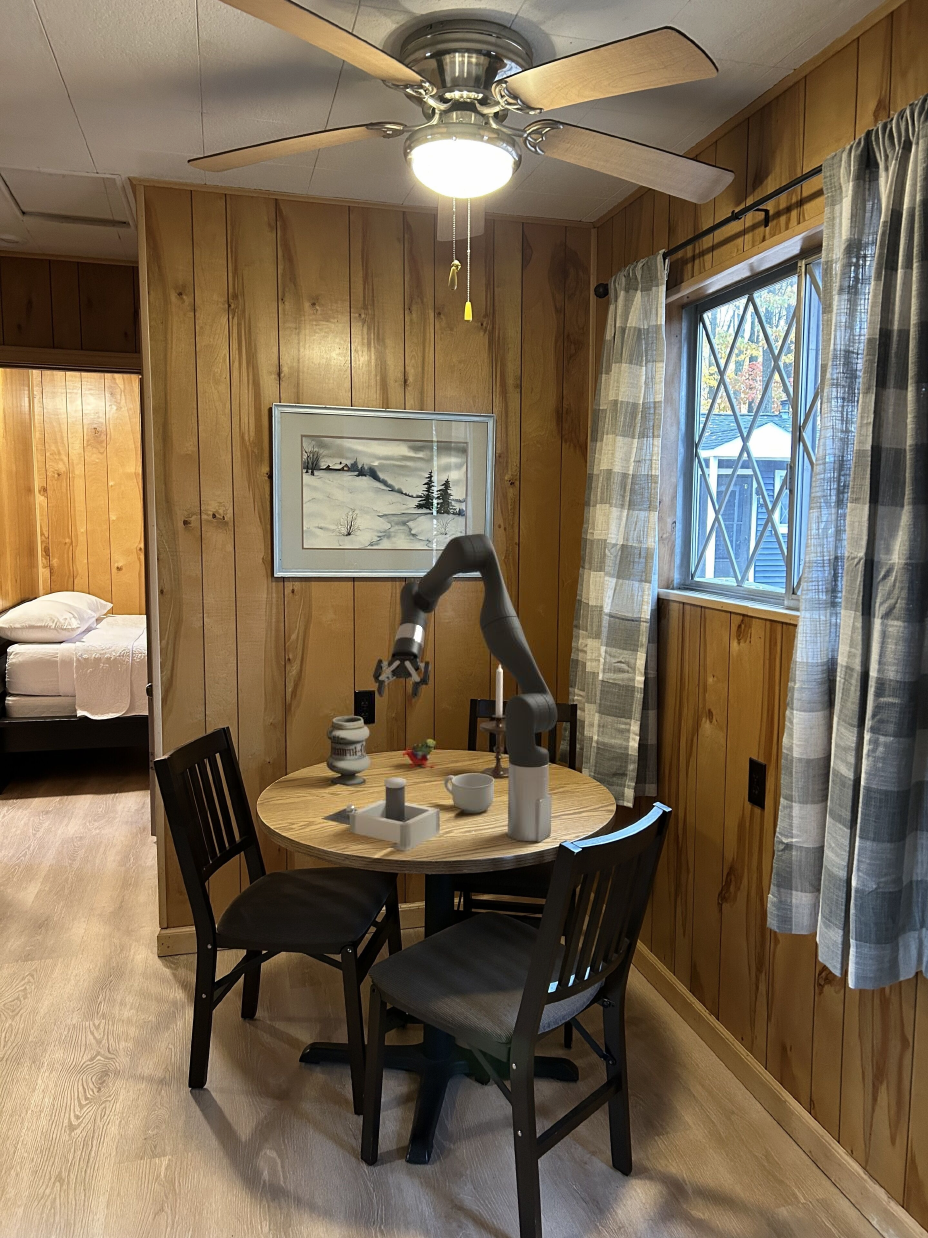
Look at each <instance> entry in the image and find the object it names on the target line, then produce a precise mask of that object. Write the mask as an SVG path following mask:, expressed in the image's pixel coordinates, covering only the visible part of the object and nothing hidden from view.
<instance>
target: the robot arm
mask: <svg viewBox="0 0 928 1238" xmlns="http://www.w3.org/2000/svg"><path fill="white" fill-rule="evenodd" d="M477 572H478V573H479V574H480V577H481V579H482V582H483V586H484V596H483V601H482V605H481V610H480V614H479V621H478V623H479V627H480V631H481V634H482V635H483V639H484V643H485V644H486V646H487V647H486V648H487V649H488V651H489V652H490V654H491V655H492V656H493V657H494V658H495V660H496V661H497V662H498V661H499V662H500V663H501V664H500V665H501V666H502V667H504V669H506V670H507V671H508V673H510V675H511V676H512V678H514V679H515V681H516V683H517V685H518V687H519V689H520V692H521V694H516V695H513V696H511V697H510V698H509V699H508V701H507V702H506V704H505V705H506V706H505V712H504V715H505V717H504V721H505V733H504V734H505V735H504V736H505V748H506V749H505V750H506V751H507V755H508V768H509V777H508V778H507V779H508V784H507V785H508V786H507V787H508V789H507V790H508V791H507V792H508V793H507V794H508V795H507V796H508V797H507V799H508V800H507V835H508V837H509V838H511V839H514V840H516V841H521V842H538V843H539V842H542V841H543V840H545V839H546V838H547V837H549V836H551V834H552V802H553V801H552V800H553V799H552V798H553V797H552V794H550V793H549V775H550V773H549V772H550V771H549V770H550V769H549V768H550V766H549V765H550V763H549V762H550V752H549V751H548V749H546V748H544V747H541V746H538V745H536V736H535V734H537V733H543V732H547V731H549V730H552V729H553V728H554V727H555V726H556V724H557V722H558V721H557V720H558V709H557V706H556V702H555V699H554V698H553V695H552V693H551V691H550V689H549V688H548V686H547V684H546V683H547V682H545V679H544V677H543V676H542V674H541V671H540V670H539V667H538V665H537V663H536V661H535V659H534V655H533V654H532V652H531V651H532V650H531V649H530V646H529V644H528V642H527V638H526V636H525V633H524V630H523V627H522V625H521V622H520V619H519V617H518V615H517V613H516V611H515V608H514V606H513V603H512V600H511V598H510V595H509V592H508V590H507V587H506V584H505V581H504V577H503V574H502V571H501V568H500V562H499V559H498V555H497V553H496V549H495V547H494V545H493V542H492V541H491V539H490V537H489V536H488V535H486V534H485V533H484V534H483V533H474V534H466V535H458V536H455V537H453V538H451V539H450V540H449V541H448V542H447V543H446V544H445V546H444V548H443V549H442V551H441V553H440V555H439V556H438V558H437V560H436V562H435V564H434V565H433V566H432V567H431V568H430V569H429V570H428V571H427V572H426V573H424V574H423V576H422V577H420V579H419V581H415V580H409V581H407V582H406V583H405V584H403V586H402V587H401V590H400V595H399V603H400V623H399V626H398V630H397V632H396V635H395V640H394V643H393V646H392V647H393V648H392V652H391V654H390V659H389V660H388V661H383V659H382V658H379V659H378V660H377V662H376V665H375V668H374V671H373V675H372V678H373V680H374V683H375V684H377V688H376V691H377V695H378V696H379V697H380V698H383V697H384V694H385V690H386V685H387V684H388V683H389V682H392V681H393V680H394V679H405V680H407V679H408V680H409V678H411V680H412V681H413V684H412V685H413V686H412V690H411V698H412V699H414V700H415V699H417V697H419V696H420V692H421V687H422V686H429V684H430V679H431V678H430V677H431V672H432V668H431V667H432V666H431V663H430V661H429V660H425V661H424V662H421V658H422V654H423V649H424V646H425V644H424V643H425V635H426V634H425V633H426V630H427V629H426V628H427V625H428V617H427V616H428V615H426V614H431V613H433V612H434V611H435V610H436V609H437V606H438V604H439V599H440V598H441V596H443V595H444V594H445V593H447V591H449V589H450V588H451V587H452V585H453V583H454V576H456V575H459V574H463V575H464V574H466V575H467V574H472V573H477ZM386 668H387V669H386ZM419 670H422V672H423V673H422V677H421V678H420V677H419V675H418V674H417V672H418V671H419ZM383 671H384V673H383Z"/></svg>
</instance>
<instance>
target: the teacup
mask: <svg viewBox="0 0 928 1238" xmlns="http://www.w3.org/2000/svg"><path fill="white" fill-rule="evenodd" d="M450 781H451V784H450ZM443 783H444V787H445V789H446V791H447V792H448V793H449V794H450V795H451V796H452V802H453V805H455V807H456V808H458V809H462V810H461V811H462V812H463V813H467V814H479V813H483V812H486V811H487V810H488V808H490V807H491V806H492V804H493V803H494V796H495V785H494V784H495V778H493V777H491V776H489V775H485V774H483V773H479V772H478V773H475V772H474V773H473V772H471V773H469V772H468V773H462V774H458V775H455V776H454V775H451V774H450V775H447V776H446V777H445V779H444V781H443Z"/></svg>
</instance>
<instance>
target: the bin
mask: <svg viewBox="0 0 928 1238" xmlns="http://www.w3.org/2000/svg"><path fill="white" fill-rule="evenodd" d="M356 810H357V811H355V812H353V813H350V825H349V833H351V834H356V835H361V836H364V837H369V838H373V839H379V840H382V841H383V840H384V841H387V842H391V843H395V844H393V845H391V846H389V847H388V848H391V849H395V850H399V851H403V852H407V851H409V850H411V849H413V848H415V847H417V846H419V845H421V844H423V843H425V842H427V841H429V840H430V839H432V838H435V837H437V836H438V835H440V833H441V832H440V825H441V823H440V822H441V820H440V819H441V817H440V816H441V815H440V814H441V813H440V812H441V810H440V809H439V808H433V807H429V806H425V805H419V804H413V803H408V802H405V817H408V818H410V820H409V821H406V822H400V821H395V820H390V819H386V798H384V799H381V800H378V801H377V802H374V803H371V804H369V805H367V806H364V807H362V808H360V809H356Z"/></svg>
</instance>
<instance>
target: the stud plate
mask: <svg viewBox="0 0 928 1238" xmlns="http://www.w3.org/2000/svg"><path fill="white" fill-rule="evenodd" d="M357 810H358V809H356V807H355V805H353V804H348V805H347V806H346V807H345V808H343V809H341V810H339V811H335V812H334V813H331V814H328V815H326V816H324V817H322V818H320V820H325V821H328V822H329V821H330V822H334V823H338V824H342V825H346V826H350V813H353V812H355V811H357Z"/></svg>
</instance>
